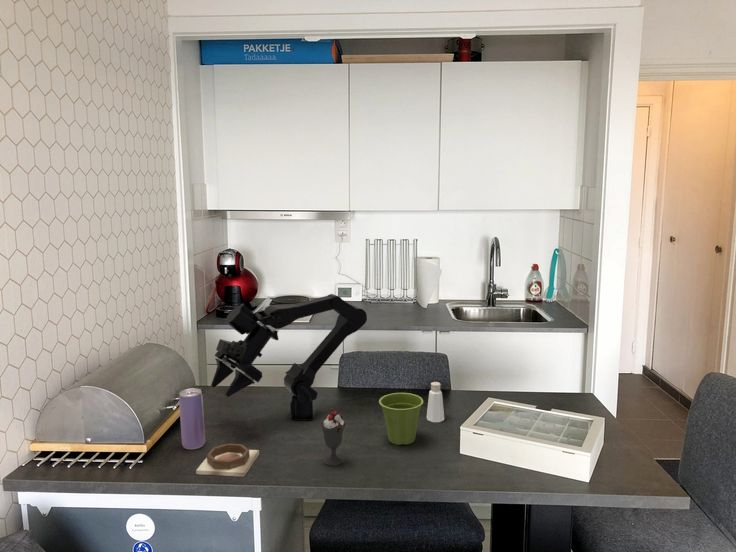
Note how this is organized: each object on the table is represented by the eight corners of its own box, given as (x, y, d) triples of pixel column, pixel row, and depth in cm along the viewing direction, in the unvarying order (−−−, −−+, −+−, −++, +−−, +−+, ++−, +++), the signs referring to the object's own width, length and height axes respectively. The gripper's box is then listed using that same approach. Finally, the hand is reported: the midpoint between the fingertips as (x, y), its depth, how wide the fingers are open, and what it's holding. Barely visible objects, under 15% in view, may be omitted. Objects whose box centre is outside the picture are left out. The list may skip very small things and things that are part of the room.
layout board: (259, 453, 157) (258, 442, 156) (244, 476, 145) (243, 465, 144) (214, 451, 158) (214, 440, 158) (196, 474, 146) (195, 462, 146)
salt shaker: (423, 421, 176) (424, 385, 174) (429, 414, 181) (429, 379, 179) (441, 423, 174) (442, 387, 172) (446, 416, 179) (447, 381, 177)
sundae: (327, 470, 148) (325, 412, 145) (316, 458, 154) (315, 402, 151) (351, 463, 151) (350, 406, 148) (340, 453, 157) (338, 398, 154)
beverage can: (198, 451, 158) (195, 396, 156) (178, 449, 160) (174, 395, 157) (209, 441, 164) (206, 388, 162) (189, 439, 165) (185, 387, 163)
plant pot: (387, 428, 171) (386, 390, 169) (427, 434, 167) (428, 395, 165) (373, 446, 160) (372, 405, 158) (416, 452, 156) (416, 411, 154)
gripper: (219, 321, 172) (184, 367, 167) (249, 335, 157) (212, 385, 153) (245, 343, 178) (213, 387, 173) (277, 357, 163) (242, 406, 159)
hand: (219, 391), depth 164 cm, fingers open, 9 cm apart
